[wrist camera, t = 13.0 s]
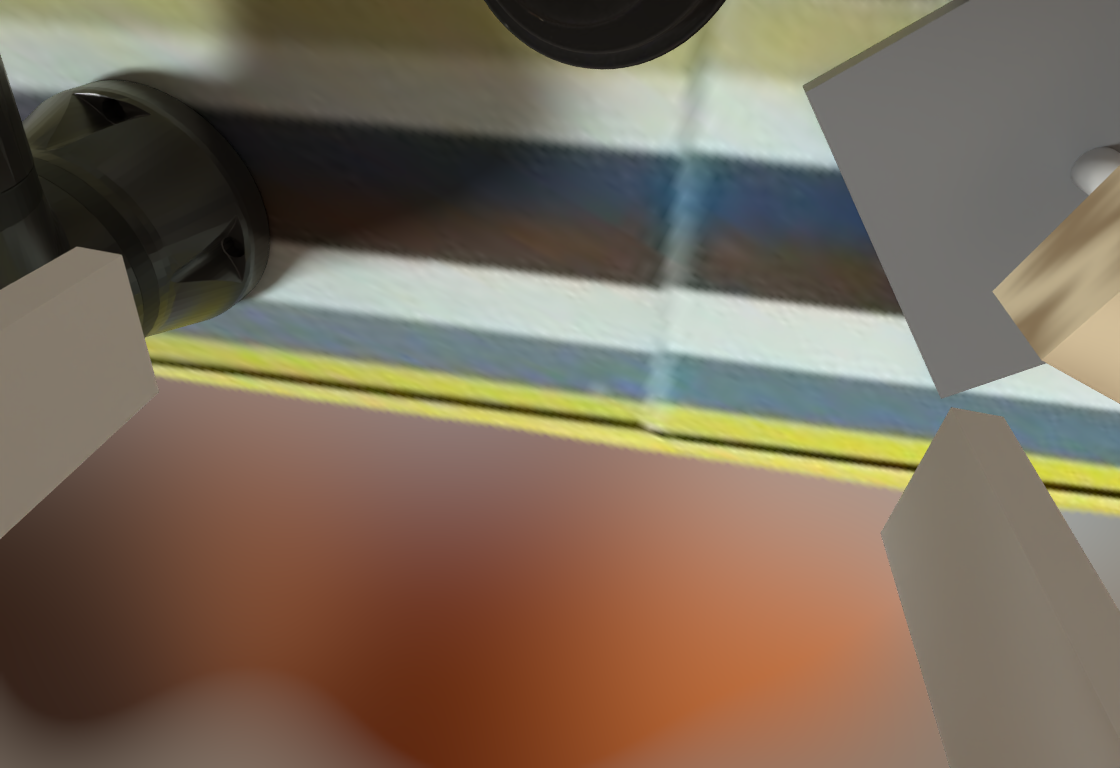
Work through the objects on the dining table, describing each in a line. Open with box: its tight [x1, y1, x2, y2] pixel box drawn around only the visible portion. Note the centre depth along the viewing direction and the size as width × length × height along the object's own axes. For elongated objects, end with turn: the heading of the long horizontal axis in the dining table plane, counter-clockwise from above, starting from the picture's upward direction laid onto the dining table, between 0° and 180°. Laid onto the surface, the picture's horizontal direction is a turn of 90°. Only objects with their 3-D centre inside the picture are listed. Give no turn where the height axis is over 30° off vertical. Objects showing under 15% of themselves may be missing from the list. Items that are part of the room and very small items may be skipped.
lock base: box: [803, 0, 1120, 399], centre depth 32 cm, size 20×20×6 cm
